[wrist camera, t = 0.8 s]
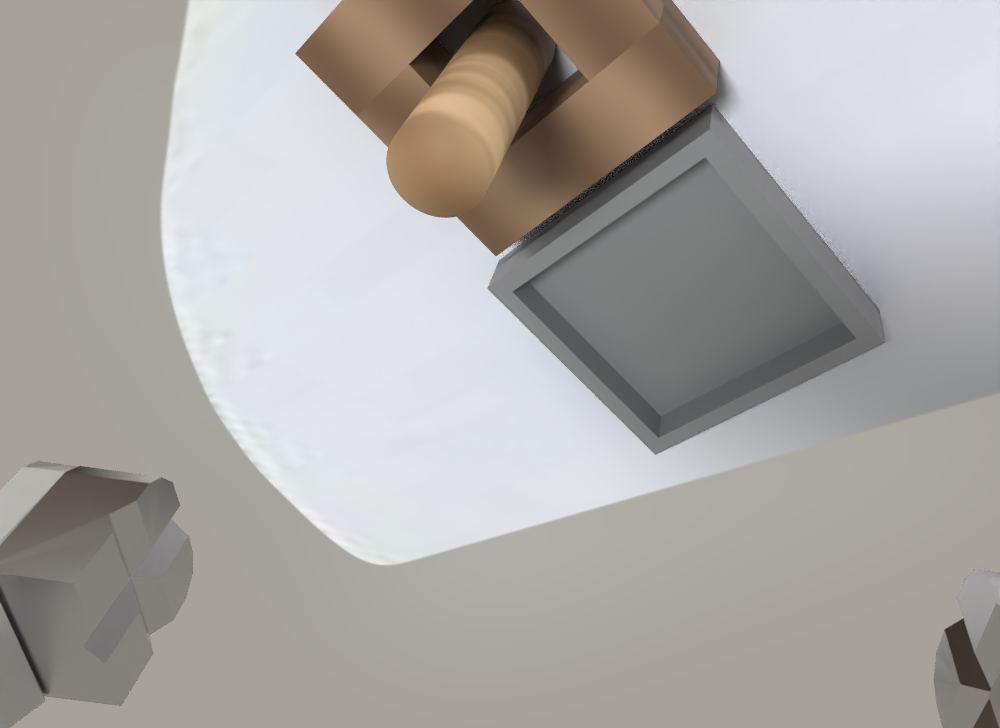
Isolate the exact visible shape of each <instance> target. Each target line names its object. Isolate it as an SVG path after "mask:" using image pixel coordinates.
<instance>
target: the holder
mask: <svg viewBox="0 0 1000 728" xmlns="http://www.w3.org/2000/svg"><path fill="white" fill-rule="evenodd" d="M472 1H473V0H342V1H341V2H340V4H339V5H338V6H337V7H336V8H335V9H334V10H333V11H332V13H331V14H330V15H329V16H328V17H327V18H326V19H325V21H324V22H323V23H322V24H321V25H320V26H319V27H318V28H317V30H316V31H315V32H314V33H313V34H312V35H311V36H310V37H309V39H308V40H307V41H306V42H305V43H304V44H303V45H302V47H301V48H300V49H299V50H298V51H297V52H296V53H295V54H296V55H297V56H298V57H299V58H300V59H301V60H302V61H303V62H304V63H305V64H306V65H307V66H308V67H309V68H310V69H311V70H312V71H313V72H314V73H315V74H316V75H317V76H318V77H319V78H320V79H321V80H322V81H323V82H324V83H325V84H326V85H327V86H328V87H329V88H330V89H331V90H332V91H333V92H334V93H335V94H336V95H337V96H338V97H339V98H340V99H341V100H342V101H343V102H344V103H345V104H346V105H347V106H348V107H349V108H350V109H351V110H352V111H353V112H354V113H355V114H356V115H357V116H358V117H359V118H360V119H361V120H362V121H363V122H364V123H365V124H366V125H367V126H368V127H369V128H370V129H371V131H372V132H373V133H374V134H375V135H376V136H377V137H378V138H379V139H380V140H381V141H382V142H383V143H384V144H385V145H386V146H387V147H388V148H389V145H390V143H391V141H392V139H393V138H394V136H395V135H396V133H397V132H398V131H399V129H400V128H401V126H402V125H403V124H404V122H405V121H406V120H407V118H408V117H409V116H410V114H411V113H412V112H413V110H414V109H415V108H416V106H417V105H418V104H419V102H420V101H421V100H422V98H423V97H424V95H425V94H426V93H427V91H428V90H429V89H430V87H431V86H432V85H433V83H434V82H435V81H436V79H437V78H438V77H439V75H440V74H441V73H442V71H443V70H444V69H445V67H446V66H447V64H448V63H449V62H450V60H451V59H452V58H453V57H452V56H451V55H450V54H449V53H448V52H447V51H446V50H445V48H444V47H443V46H442V45H441V44H440V43H439V42H438V41H437V40H436V39H435V38H436V37H437V36H438V35H439V34H440V33H441V32H442V31H443V30H444V29H445V28H446V27H447V26H448V25H449V24H450V23H451V22H452V21H453V20H454V19H455V18H456V17H457V16H458V15H459V14H460V13H461V12H462V11H463V10H464V9H465V8H466V7H467V6H468V5H469V4H470V3H471V2H472ZM519 1H520V2H521V3H522V4H523V5H524V6H525V8H526V9H527V10H528V11H529V12H530V13H531V15H532V16H533V17H534V18H535V19H536V20H537V21H538V23H539V24H540V25H541V26H542V27H543V28H544V30H545V31H546V32H547V33H548V34H549V35H550V37H551V38H552V39H553V40H554V41H555V42H556V44H557V45H558V46H559V47H560V48H561V49H562V51H563V52H564V53H565V54H566V55H567V56H568V58H569V59H570V60H571V61H572V62H573V63H574V64H575V66H576V67H577V68H578V69H579V70H577V71H576V72H575V73H574V74H573V75H571V76H570V77H569V78H568V79H567V80H566V81H564V82H563V83H562V84H561V85H560V86H558V87H557V88H556V89H555V90H554V91H553V92H551V93H550V94H549V95H548V96H547V97H545V98H544V99H543V100H542V101H541V102H540V103H538V104H537V105H536V106H535V107H534V108H533V109H531V110H530V111H529V112H528V113H527V114H525V116H524V118H523V120H522V122H521V124H520V126H519V128H518V130H517V132H516V134H515V136H514V138H513V140H512V142H511V144H510V146H509V148H508V150H507V152H506V154H505V156H504V158H503V160H502V162H501V164H500V166H499V168H498V170H497V172H496V174H495V176H494V178H493V180H492V182H491V184H490V186H489V188H488V190H487V192H486V194H485V196H484V198H483V199H482V201H481V202H480V203H479V204H478V205H477V206H476V207H475V208H474V209H472V210H471V211H469V212H467V213H465V214H463V215H460V216H457V217H458V218H459V219H460V220H461V221H462V222H463V223H464V224H465V225H466V227H467V228H468V229H469V230H470V231H471V232H472V233H473V234H474V235H475V236H476V237H477V238H478V239H479V240H480V241H481V242H482V243H483V244H484V245H485V246H486V247H487V248H488V249H489V250H490V251H491V252H492V253H493V254H494V255H495V256H497V255H499V254H500V253H501V252H503V251H504V250H505V249H507V248H508V247H509V246H511V245H512V244H513V243H515V242H516V241H517V240H519V239H520V238H521V237H523V236H524V235H526V234H527V233H528V232H530V231H531V230H532V229H534V228H535V227H536V226H538V225H539V224H540V223H542V222H543V221H544V220H546V219H547V218H549V217H550V216H551V215H553V214H554V213H555V212H557V211H558V210H559V209H561V208H562V207H563V206H565V205H566V204H567V203H569V202H570V201H571V200H573V199H574V198H576V197H577V196H578V195H580V194H581V193H582V192H584V191H585V190H586V189H588V188H589V187H590V186H592V185H593V184H594V183H596V182H597V181H598V180H600V179H601V178H603V177H604V176H605V175H607V174H608V173H609V172H611V171H612V170H613V169H615V168H616V167H617V166H619V165H620V164H621V163H623V162H624V161H626V160H627V159H628V158H630V157H631V156H632V155H634V154H635V153H636V152H638V151H639V150H640V149H642V148H643V147H644V146H646V145H647V144H648V143H650V142H651V141H653V140H654V139H655V138H657V137H658V136H659V135H661V134H662V133H663V132H665V131H666V130H667V129H669V128H670V127H671V126H673V125H674V124H675V123H677V122H678V121H680V120H681V119H682V118H684V117H685V116H686V115H688V114H689V113H690V112H692V111H693V110H694V109H696V108H697V107H698V106H700V105H701V104H703V103H704V102H705V101H707V100H708V99H709V98H711V97H712V96H713V95H715V94H716V91H717V81H718V71H719V60H718V58H717V57H716V56H715V55H714V53H713V52H712V51H711V50H710V48H709V47H708V46H707V45H706V43H705V42H704V41H703V39H702V38H701V37H700V36H699V34H698V33H697V32H696V31H695V29H694V28H693V27H692V26H691V24H690V23H689V22H688V20H687V19H686V18H685V17H684V15H683V14H682V13H681V12H680V10H679V9H678V8H677V7H676V5H675V4H674V3H673V1H672V0H519Z"/></svg>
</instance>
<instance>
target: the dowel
mask: <svg viewBox="0 0 1000 728" xmlns="http://www.w3.org/2000/svg"><path fill="white" fill-rule="evenodd" d="M555 47H556V45H555V41H554V40H553V39H552V38H551V37H550V35H549V34H548V33H547V32H546V31H545V30H544V28H543V27H542V26H541V25H540V24H539V23H538V21H537V20H536V19H535V18H534V17H533V16H532V15H531V13H530V12H529V11H528V10H527V9H526V8H525V6H524V5H523V4H522V3H521V2H520V1H506V2H502V3H500V4H497V5H495V6H494V7H492V8H491V9H490V10H488V11H487V12H486V14H485V15H484V16H483V17H482V19H481V20H480V21H479V23H478V24H477V25H476V27H475V28H474V29H473V31H472V32H471V33H470V35H469V36H468V38H467V39H466V40H465V42H464V43H463V44H462V46H461V47H460V48H459V50H458V51H457V52H456V54H455V55H454V56H453V58H452V59H451V60H450V62H449V63H448V64H447V66H446V67H445V69H444V70H443V71H442V73H441V74H440V75H439V77H438V78H437V79H436V81H435V82H434V83H433V85H432V86H431V87H430V89H429V90H428V91H427V93H426V94H425V95H424V97H423V98H422V100H421V101H420V102H419V104H418V105H417V106H416V108H415V109H414V110H413V112H412V113H411V114H410V116H409V117H408V118H407V120H406V121H405V122H404V124H403V125H402V126H401V128H400V129H399V131H398V132H397V133H396V135H395V136H394V138H393V139H392V141H391V143H390V145H389V148H388V151H387V170H388V174H389V177H390V180H391V182H392V184H393V186H394V188H395V189H396V191H397V192H398V194H399V195H400V196H401V197H402V198H403V199H404V200H405V201H406V202H407V203H408V204H409V205H411V206H412V207H414V208H415V209H417V210H419V211H421V212H423V213H425V214H428V215H431V216H436V217H445V218H447V217H456V216H460V215H463V214H465V213H467V212H469V211H471V210H472V209H474V208H475V207H476V206H477V205H478V204H479V203H480V202H481V201H482V199H483V198H484V196H485V194H486V192H487V190H488V188H489V186H490V184H491V182H492V180H493V178H494V176H495V174H496V172H497V170H498V168H499V166H500V164H501V162H502V160H503V158H504V156H505V154H506V152H507V150H508V148H509V146H510V144H511V142H512V140H513V138H514V136H515V134H516V132H517V130H518V128H519V126H520V124H521V122H522V120H523V118H524V116H525V114H526V112H527V110H528V108H529V106H530V104H531V102H532V100H533V98H534V96H535V94H536V92H537V90H538V88H539V86H540V84H541V82H542V80H543V78H544V76H545V74H546V72H547V70H548V68H549V66H550V64H551V62H552V60H553V57H554V53H555Z"/></svg>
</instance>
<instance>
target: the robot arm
mask: <svg viewBox="0 0 1000 728" xmlns="http://www.w3.org/2000/svg"><path fill="white" fill-rule="evenodd" d="M179 506H180V503H179V500H178V497H177V494H176V491H175V488H174V485H173V482H171V481H168V480H166V479H164V478H162V477H155V476H148V475H141V474H133V473H127V472H120V471H112V470H105V469H98V468H91V467H84V466H78V467H76V466H69V465H62V464H56V463H49V462H42V461H37V462H34V463H32V464H29V465H27V466H24V467H22V469H20V470H19V471H18V472H17V474H16V475H15V476H14V477H13V478H12V479H11V480H10V481H9V482H8V483H7V484H6V485H5V486H4V487H3V488H2V489H1V490H0V728H10V727H11V726H13V725H14V724H15V723H17V722H18V721H19V720H21V719H22V718H23V717H24V716H26V715H27V714H29V713H30V712H31V711H32V710H34V709H35V708H37V707H38V706H39V705H41V704H42V703H43V702H45V697H44V696H47V697H55V698H63V699H71V700H79V701H87V702H95V703H103V704H112V705H119V706H121V705H122V704H123V702H124V700H125V699H126V697H127V695H128V694H129V692H130V690H131V689H132V687H133V686H134V684H135V682H136V681H137V679H138V677H139V676H140V674H141V672H142V671H143V669H144V668H145V666H146V664H147V663H148V661H149V659H150V658H151V656H152V654H153V650H152V644H151V638H150V634H152V633H153V632H155V631H156V630H158V629H160V628H161V627H163V626H164V625H166V624H167V623H169V622H171V621H172V620H174V618H175V616H176V614H177V613H178V611H179V609H180V608H181V606H182V604H183V602H184V601H185V599H186V596H187V592H188V588H189V585H190V581H191V577H192V574H193V551H192V547H191V544H190V539H189V536H188V535H187V534H186V533H185V532H184V531H183V530H182V529H181V528H180V527H179V526H178V525H177V524H176V523H175V522H174V521H173V520H172V519H171V518H172V517H173V515H174V514H175V512H176V511H177V509H178V508H179ZM957 599H958V603H959V606H960V609H961V612H962V615H963V619H961V620H959V621H958V622H956V623H954V624H953V625H951V626H949V627H948V628H946V629H945V630H944V632H943V635H942V638H941V641H940V644H939V647H938V650H937V653H936V663H935V674H934V685H935V694H936V703H937V707H938V711H939V715H940V719H941V723H942V727H943V728H1000V573H999V572H990V571H980V570H973V572H971V573H970V574H969V575H968V576H967V577H966V578H965V580H964V582H963V585H962V587H961V590H960V592H959V594H958V597H957Z"/></svg>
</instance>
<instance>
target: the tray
mask: <svg viewBox="0 0 1000 728" xmlns="http://www.w3.org/2000/svg"><path fill="white" fill-rule="evenodd" d="M487 289H488V290H489V291H490V292H491V293H492V294H493V295H494V296H495V297H496V298H497V299H499V300H500V301H501V302H502V303H503V304H504V305H505V306H506V307H507V308H508V309H509V310H510V311H511V312H512V313H513V314H514V315H515V316H516V317H517V318H518V319H519V320H520V321H521V322H522V323H523V324H524V325H525V326H526V327H527V328H528V329H529V330H530V331H531V332H532V333H533V334H534V335H535V336H536V337H537V338H538V339H539V340H540V341H541V342H542V343H543V344H544V345H545V346H546V347H547V348H548V349H549V350H550V351H551V352H552V353H553V354H554V355H555V356H556V357H557V358H558V359H559V360H560V361H561V362H562V363H563V364H564V365H565V366H566V367H567V368H568V369H569V370H570V371H571V372H572V373H573V374H574V375H575V376H576V377H577V378H578V379H579V380H580V381H581V382H582V383H583V384H584V385H585V386H587V387H588V388H589V389H590V390H591V391H592V392H593V393H594V394H595V395H596V396H597V397H598V398H599V399H600V400H601V401H602V402H603V403H604V404H605V405H606V406H607V407H608V408H609V409H610V410H611V411H612V412H613V413H614V414H615V415H616V416H617V417H618V418H619V419H620V420H621V421H622V422H623V423H624V424H625V425H626V426H627V427H628V428H629V429H630V430H631V431H632V432H633V433H634V434H635V435H636V436H637V437H638V438H639V439H640V440H641V441H642V442H643V443H644V444H645V445H646V446H647V447H648V448H649V449H650V450H651V451H652V452H653V453H654V454H655V455H656V454H658V453H660V452H662V451H664V450H666V449H668V448H670V447H673V446H675V445H677V444H679V443H681V442H683V441H685V440H687V439H689V438H691V437H693V436H695V435H697V434H699V433H701V432H703V431H705V430H707V429H709V428H711V427H713V426H715V425H718V424H720V423H722V422H724V421H726V420H728V419H730V418H732V417H734V416H736V415H738V414H740V413H742V412H744V411H746V410H748V409H750V408H752V407H754V406H756V405H758V404H760V403H763V402H765V401H767V400H769V399H771V398H773V397H775V396H777V395H779V394H781V393H783V392H785V391H787V390H789V389H791V388H793V387H795V386H797V385H799V384H801V383H803V382H805V381H808V380H810V379H812V378H814V377H816V376H818V375H820V374H822V373H824V372H826V371H828V370H830V369H832V368H834V367H836V366H838V365H840V364H842V363H844V362H846V361H848V360H850V359H852V358H855V357H857V356H859V355H861V354H863V353H865V352H867V351H869V350H871V349H873V348H875V347H877V346H879V345H881V344H883V343H885V340H884V334H883V329H882V323H881V317H880V312H879V309H878V308H877V307H876V305H875V304H874V303H873V302H872V300H871V299H870V298H869V297H868V295H867V294H866V293H865V292H864V290H863V289H862V288H861V287H860V286H859V284H858V283H857V282H856V281H855V279H854V278H853V277H852V276H851V274H850V273H849V272H848V271H847V269H846V268H845V267H844V266H843V265H842V263H841V262H840V261H839V260H838V258H837V257H836V256H835V255H834V253H833V252H832V251H831V250H830V248H829V247H828V246H827V245H826V244H825V242H824V241H823V240H822V239H821V237H820V236H819V235H818V234H817V232H816V231H815V230H814V229H813V227H812V226H811V225H810V224H809V223H808V221H807V220H806V219H805V218H804V216H803V215H802V214H801V213H800V211H799V210H798V209H797V208H796V207H795V205H794V204H793V203H792V202H791V200H790V199H789V198H788V197H787V195H786V194H785V193H784V192H783V190H782V189H781V188H780V187H779V186H778V184H777V183H776V182H775V181H774V179H773V178H772V177H771V176H770V174H769V173H768V172H767V171H766V169H765V168H764V167H763V166H762V165H761V163H760V162H759V161H758V160H757V158H756V157H755V156H754V155H753V153H752V152H751V151H750V150H749V148H748V147H747V146H746V145H745V144H744V142H743V141H742V140H741V139H740V137H739V136H738V135H737V134H736V132H735V131H734V130H733V129H732V127H731V126H730V125H729V124H728V123H727V121H726V120H725V119H724V118H723V116H722V115H721V114H720V113H719V111H718V110H717V109H716V108H715V106H714V105H713V104H712V105H710V106H709V107H707V108H706V109H705V110H703V111H702V112H701V113H699V114H698V115H697V116H695V117H694V118H692V119H691V120H690V121H688V122H687V123H686V124H684V125H683V126H682V127H680V128H679V129H678V130H676V131H675V132H673V133H672V134H671V135H669V136H668V137H667V138H665V139H664V140H663V141H661V142H660V143H658V144H657V145H656V146H654V147H653V148H652V149H650V150H649V151H648V152H646V153H645V154H643V155H642V156H641V157H639V158H638V159H637V160H635V161H634V162H633V163H631V164H630V165H628V166H627V167H626V168H624V169H623V170H622V171H620V172H619V173H618V174H616V175H615V176H614V177H612V178H611V179H609V180H608V181H607V182H605V183H604V184H603V185H601V186H600V187H599V188H597V189H596V190H594V191H593V192H592V193H590V194H589V195H588V196H586V197H585V198H584V199H582V200H581V201H579V202H578V203H577V204H575V205H574V206H573V207H571V208H570V209H569V210H567V211H566V212H564V213H563V214H562V215H560V216H559V217H558V218H556V219H555V220H554V221H552V222H551V223H550V224H548V225H547V226H545V227H544V228H543V229H541V230H540V231H539V232H537V233H536V234H535V235H533V236H532V237H530V238H529V239H528V240H526V241H525V242H524V243H522V244H521V245H520V246H518V247H517V248H515V249H514V250H513V251H511V252H510V253H509V254H507V255H506V256H505V257H503V258H502V259H501V260H499V262H498V265H497V267H496V269H495V272H494V274H493V277H492V279H491V281H490V284H489V286H488V288H487Z"/></svg>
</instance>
